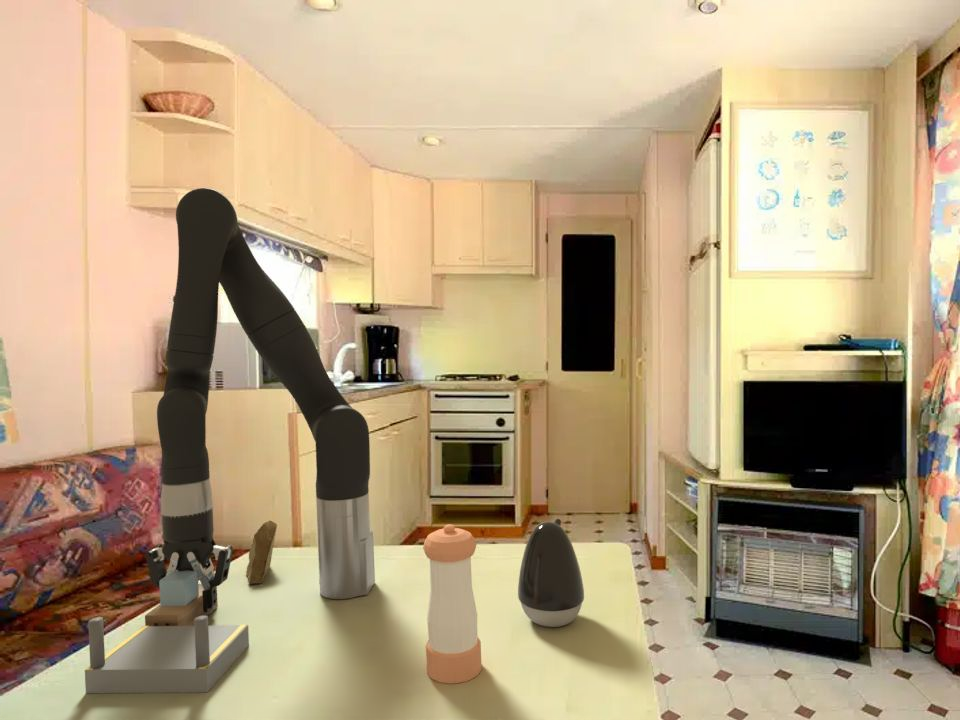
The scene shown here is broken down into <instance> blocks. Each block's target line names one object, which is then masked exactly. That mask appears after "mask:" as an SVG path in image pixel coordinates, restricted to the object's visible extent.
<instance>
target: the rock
mask: <svg viewBox="0 0 960 720" xmlns="http://www.w3.org/2000/svg"><path fill="white" fill-rule="evenodd" d="M277 528H278V524H277V523H276V522H273V521H272V520H268V521H266V522H263V523H262V525H261V526H260V528H258V529H257V531H256V533H254V534H253V537H252V543H251V546H250V549H249V552H248V564H247V567H246V571H245V573H246V576H247V579H248V584H249V585H250V584H262V583H263V580H264V578H265V575H267V573H268V571H269V569H270V568H271V565H272V563H271V562H272V558H273V557H272V556H273V550H274V546H275V545H274V544H275V540H276V539H275V538H276V534H277V533H276V532H277Z"/></svg>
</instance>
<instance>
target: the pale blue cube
mask: <svg viewBox="0 0 960 720" xmlns="http://www.w3.org/2000/svg"><path fill="white" fill-rule="evenodd" d="M198 584H199V578H197V572H194V571H189V570H185V571H176V572H172V573H171V574H169V575H168V576H166V577H165V578H163V579H162V580H160V581H159V586H160V587H159V602H160V603H159V605H160V606H186V605H187V604H189V603H190V602H191V601H192V600H194V599H195V598H196V597H197V596H199V588H198Z"/></svg>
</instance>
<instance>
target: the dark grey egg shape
mask: <svg viewBox="0 0 960 720" xmlns="http://www.w3.org/2000/svg"><path fill="white" fill-rule="evenodd" d="M561 525H562V520H561V519H559V518H556V519H555V520H554V521H544V522H543V521H542V522H541V523H539V524H537V525H536V526H535V527H534V528H533V529H532V531H531V533H530V535H529V537H528V540H527V542H526V545H525V548H524V551H523V556H522V559H521V564H520V568H519V575H518V585H517V598H518V600H519V602H520V604H521V608H522V610H523V612H524V613H525V615H526V616H527V617H528V619H529V620H531V621H532V622H533V623H535V624H536V625H539V626H542V627H545V628H546V627H547V628H557V627H562V626H563V627H564V626H565V625H568V624H570V623H571V622H573V621H574V620H575V619H576V618H577V616H578V615H579V613H580V611H581V608H582V604H583V602H584V599H585V589H584V583H583V577H582V572H581V569H580V565H579V564H580V563H579V561H578V557H577V554H576V551H575V549H574V546H573V543H572V541H571V539H570V538H569V536H568V534H567V532H566V530H565V529H564V528H563V527H562V526H561Z"/></svg>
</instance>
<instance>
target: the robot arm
mask: <svg viewBox="0 0 960 720" xmlns="http://www.w3.org/2000/svg"><path fill="white" fill-rule="evenodd" d="M175 221H176V224H177V238H178V239H177V241H178V245H177V246H178V259H177V261H178V263H177V275H176V277H177V278H176V285H175V292H174V298H173V299H174V300H173V305H172V311H171V316H170V317H171V319H170V323H169V331H168V336H167V337H168V338H167V345H166V352H165V363H166V369H167V370H166V377H165V383H164V389H163V395H162V397H161V398H160V400H159V401H158V404H157V408H156V418H157V419H156V421H157V422H156V423H157V429H158V437H159V443H160V449H161V460H160V461H161V483H162V484H161V494H160V503H161V505H160V509H161V524H162V525H161V527H162V531H161V532H162V539H163V541H164V542H163V546H162V547H158V546H157V547H155V548H152V549H151V550H149V551H147V552H146V553H145V554H144V555H145V561H146V565H147V567H148V571H149V576H150V578H151V582H152V585H153V587H154V588H160V586H159V581H160V580H162V579H163V578H165V577H166V576H168V575H169V574H171V573H172V572H176V571H194V572H197V578H198V580H199V582H200V584H202V586H203V589H204V590H203V591H202V595H203V611H204V612H209V611H211V610H212V609H213V607H214V606H215V605H216V602H217V603H218V595H217V596H216V586H217V587H218V586H219V587H220V585H221V584H223V583H224V582H225V581H226V580H228V577H229V572H230V566H231V561H232V556H233V551H234V547H233V546H232V545H227V546H222V545H217V543H216V541H215V540H214V513H213V512H214V511H213V510H214V509H213V491H212V485H211V479H210V475H211V474H210V457H209V452H208V451H209V450H208V448H207V445H206V443H207V441H206V438H207V437H206V436H207V435H206V432H207V431H206V430H207V429H206V425H207V424H206V418H207V412H208V404H209V392H210V391H209V390H210V377H211V375H210V373H211V368H212V365H213V360H214V353H215V348H216V347H215V346H216V339H217V330H218V329H217V328H218V313H219V312H218V311H219V309H218V308H219V288H220V286H221V287H222V289H223V291H224V293H225V296H226V298H227V299H228V302H229V305H230V306H231V309H232V311H233V313H234V314H235V316H236V318H237V321H238V322H239V325H240V326H241V328H242V330H243V331H244V332H245V334H246V336H247V338H248V339H249V341H250V342H251V344H252V345H253V347H254V349H255V350H256V351H257V353H258V355H260V358H261V359H262V361H264V363H265V365H266V366H267V367H268V368H269V369H270V371H271V373H273V375H274V376H275V377H276V378H277V379H278V380H279V381H280V382H281V384H282V385H283V386H284V387H285V389H287V391H288V392H289V393H290V395H291V396H292V398H293V399H294V401H295V402H296V405H297V406H298V408H299V410H300V412H301V413H302V415H303V417H304V419H305V421H306V424H307V426H308V428H309V429H310V432H311V434H312V438H313V440H314V442H315V462H316V465H315V466H316V475H315V476H316V478H315V479H316V480H315V498H316V499H315V500H316V501H315V502H316V529H317V551H318V552H317V554H318V574H319V575H318V582H319V584H318V585H319V594H320V595H321V596H323V597H324V598H326V599H330V600H331V599H332V600H345V599H353V598H356V597H360V596H368V595H369V593H370V591H371V590H372V588H373V586H374V585H375V583H376V576H375V575H376V571H375V569H376V568H375V545H374V532H373V531H372V530H371V526H370V525H371V524H370V522H371V520H370V519H371V518H370V498H369V497H370V495H369V494H370V493H369V492H370V491H369V489H370V488H369V483H370V482H369V481H370V477H371V456H370V455H371V454H370V453H371V452H370V449H371V448H370V446H371V445H370V432H369V431H370V430H369V426H368V425H369V424H368V423H367V420H366V418H365V417H364V416H363V414H362V413H360V411H358V410H357V409H355V408H353V407H352V406H351V405H350V404H349V402H348V401H347V400H346V398H345V397H344V396H343V395H342V393H341V392H340V391H339V390H338V388H337V387H336V385H335V384H334V383H333V381H332V380H331V378H330V377H329V375H328V373H327V371H326V368H325V366H324V363H323V361H322V358H321V357H320V354H319V351H318V349H317V346H316V344H315V343H314V339H313V338H312V336H311V334H310V333H309V331H308V329H307V326H306V325H305V323H304V321H303V320H302V319H301V317H300V316H299V313H298V312H297V310H296V308H294V306H293V305H292V303H291V301H290V300H289V298H288V297H287V295H285V294H284V292H283V291H282V290H281V288H280V287H279V286H278V285H277V284H276V283H275V282H274V280H273V279H272V278H271V277H270V276H269V275H268V274H267V273H266V272H265V271H264V269H263V268H262V266H261V265H260V264H259V263H258V261H257V259H256V257H255V255H254V254H253V252H252V250H251V249H250V247H249V245H248V243H247V241H246V239H245V237H244V235H243V233H242V229H241V228H240V226H239V222H238V217H237V212H236V210H235V207H234V206H233V204H232V202H231V201H230V200H229V198H227V196H226V195H224V194H223V193H221V192H220V191H217V190H216V189H212V188H209V187H200V188H199V187H198V188H195V189H192V190H190V191H188V192H187V193H186V194H184V195H183V196H182V198H181V199H180V200H179V202H178V204H177V206H176V210H175ZM219 285H220V286H219ZM213 554H214V559H215V561H217V562H216V567H214V564H213V562H212V559H211V557H212V556H213ZM165 558H166V560H167V561H168V562H169V565H168V568H167V567H166V563H165ZM214 568H215V572H214ZM216 598H217V599H216Z"/></svg>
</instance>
